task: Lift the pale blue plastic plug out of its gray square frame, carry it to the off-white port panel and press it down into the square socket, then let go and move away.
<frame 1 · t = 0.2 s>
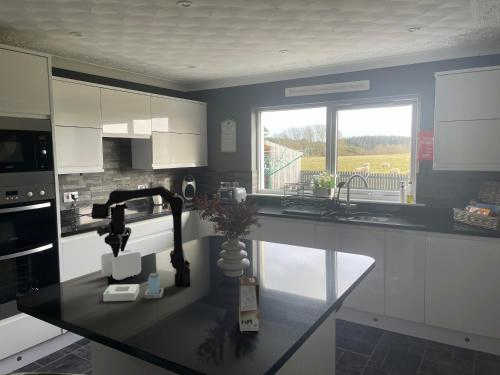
hand: (119, 254, 167), 14 cm above the counter, tool pointing down, fingers open, 9 cm apart
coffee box: (248, 326, 132), on the counter
port panel: (122, 296, 158), on the counter
cable organizer: (121, 276, 183), on the counter
gray square frame: (154, 295, 159), on the counter
plug: (154, 284, 158), in the gray square frame
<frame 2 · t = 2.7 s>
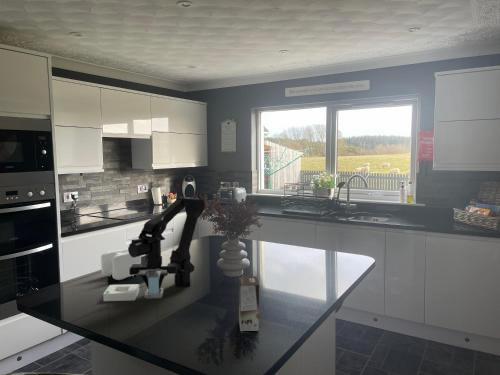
hand: (154, 289, 159), 3 cm above the counter, tool pointing down, fingers closed on plug, 4 cm apart
plug: (154, 284, 158), in the gray square frame, touching gripper
everything else where it was.
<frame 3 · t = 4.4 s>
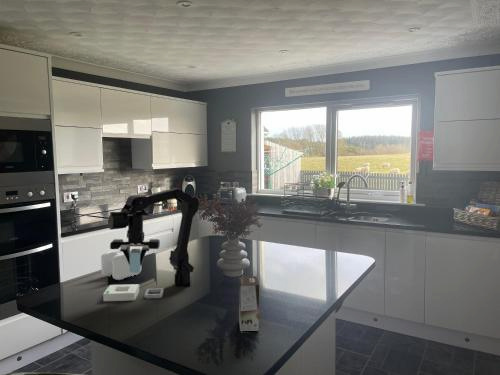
hand: (135, 264, 156), 13 cm above the counter, tool pointing down, fingers closed on plug, 4 cm apart
plug: (135, 260, 156), point 15 cm above the counter, touching gripper
everything else where it was.
when the fingers open (4 cm above the counter, at t = 6.2 s): plug drops 2 cm, resting in port panel.
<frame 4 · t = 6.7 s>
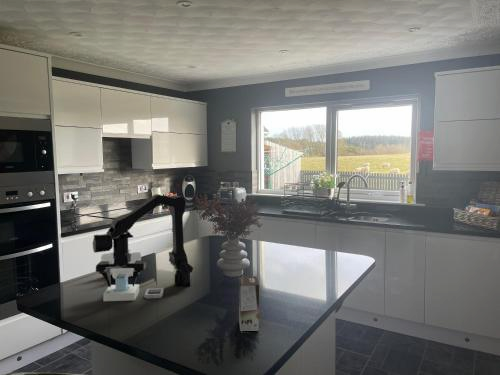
hand: (121, 286, 157), 4 cm above the counter, tool pointing down, fingers open, 9 cm apart
plug: (121, 285, 157), in the port panel
everything else where it was.
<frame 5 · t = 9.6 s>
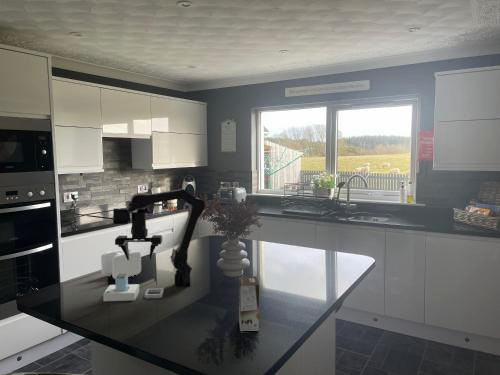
hand: (139, 259, 164), 13 cm above the counter, tool pointing down, fingers open, 9 cm apart
nothing on the counter moved.
at the end: plug 0.1 cm off-centre on the port panel, point 4.4 cm above the port panel's base; plug tilted 0°; the gripper is holding nothing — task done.
